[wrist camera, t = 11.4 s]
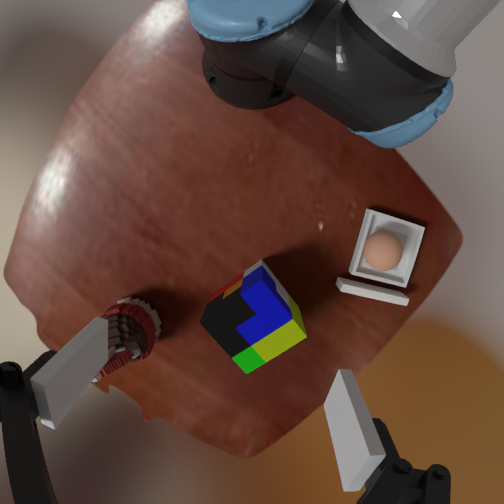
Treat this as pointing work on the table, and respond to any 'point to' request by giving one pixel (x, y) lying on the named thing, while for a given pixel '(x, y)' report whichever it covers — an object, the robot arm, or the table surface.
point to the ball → (383, 250)
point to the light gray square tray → (410, 243)
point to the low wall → (371, 291)
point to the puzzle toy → (253, 318)
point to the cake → (129, 333)
